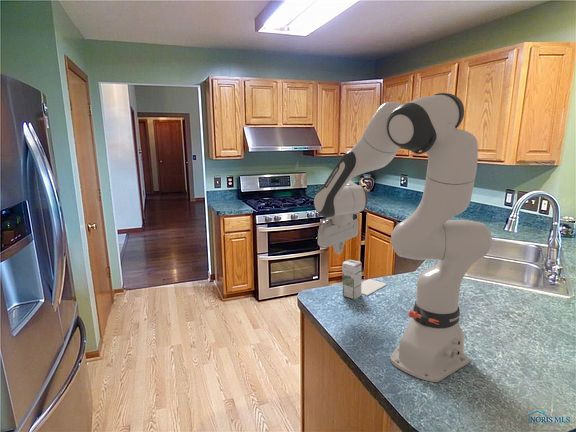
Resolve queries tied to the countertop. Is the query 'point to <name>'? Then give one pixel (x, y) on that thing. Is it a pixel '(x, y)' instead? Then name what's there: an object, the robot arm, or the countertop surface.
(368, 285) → the cream flat rectangular slab
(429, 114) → the robot arm
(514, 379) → the countertop surface
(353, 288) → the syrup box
